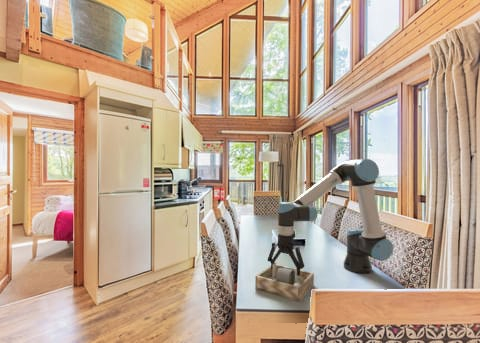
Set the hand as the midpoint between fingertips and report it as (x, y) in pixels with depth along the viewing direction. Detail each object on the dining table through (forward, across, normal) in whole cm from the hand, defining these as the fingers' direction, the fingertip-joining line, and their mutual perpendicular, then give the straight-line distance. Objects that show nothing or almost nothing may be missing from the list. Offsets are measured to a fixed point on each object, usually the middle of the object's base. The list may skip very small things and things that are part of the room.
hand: (285, 279), depth 122 cm
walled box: (+4, 0, 0) cm, 4 cm away
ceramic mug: (+3, 0, -1) cm, 3 cm away
